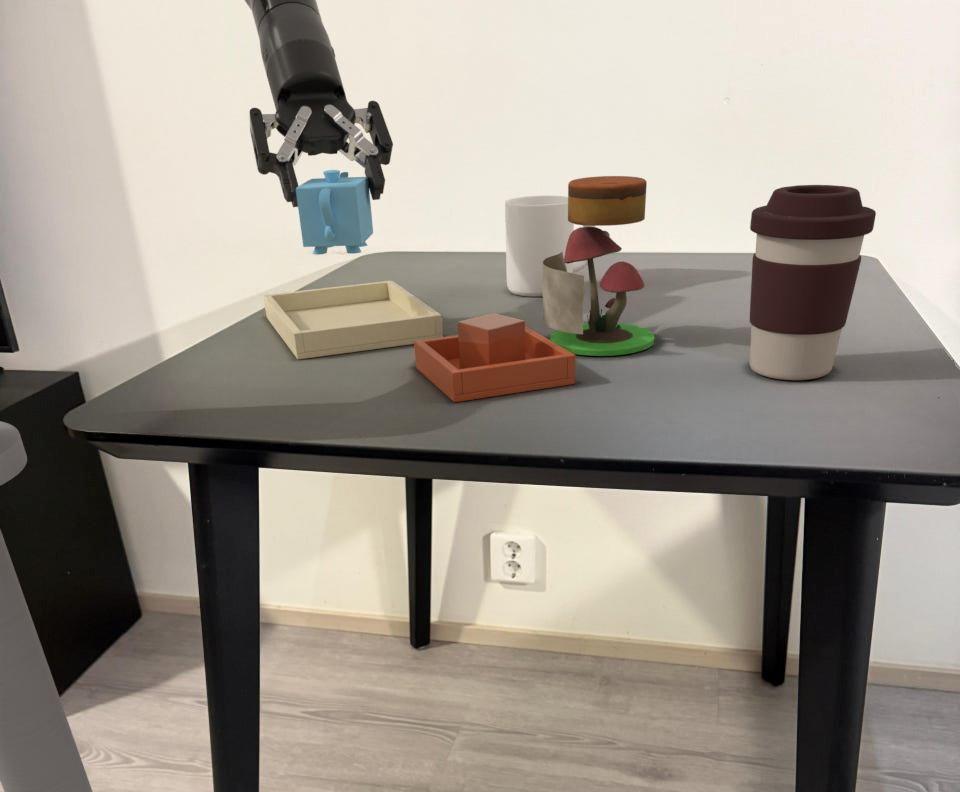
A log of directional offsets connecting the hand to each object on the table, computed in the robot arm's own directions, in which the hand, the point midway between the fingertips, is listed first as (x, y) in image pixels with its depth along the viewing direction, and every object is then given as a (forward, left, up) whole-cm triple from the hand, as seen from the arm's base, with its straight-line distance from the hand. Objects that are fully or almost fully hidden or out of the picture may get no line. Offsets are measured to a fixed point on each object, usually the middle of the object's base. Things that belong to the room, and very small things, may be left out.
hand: (337, 198), depth 95 cm
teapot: (0, +1, -5) cm, 5 cm away
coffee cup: (+33, -34, -14) cm, 49 cm away
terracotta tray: (+8, -23, -13) cm, 28 cm away
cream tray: (0, +1, -13) cm, 13 cm away
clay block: (+8, -23, -13) cm, 27 cm away
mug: (+28, +8, -14) cm, 32 cm away
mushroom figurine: (+22, -17, -14) cm, 31 cm away
